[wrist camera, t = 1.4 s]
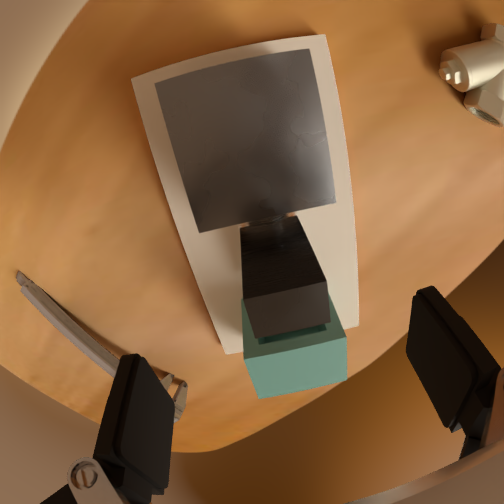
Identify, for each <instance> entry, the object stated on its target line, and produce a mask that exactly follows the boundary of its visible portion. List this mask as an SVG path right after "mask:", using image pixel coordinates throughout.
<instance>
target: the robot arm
mask: <svg viewBox="0 0 504 504" xmlns="http://www.w3.org/2000/svg"><path fill="white" fill-rule="evenodd" d="M406 353H407V357H408V359H409V360H410V362H411V364H412V366H413V368H414V370H415V371H416V373H417V375H418V377H419V379H420V381H421V382H422V384H423V386H424V388H425V390H426V392H427V394H428V396H429V398H430V400H431V402H432V403H433V405H434V407H435V409H436V411H437V413H438V415H439V417H440V419H441V421H442V423H443V425H444V426H445V427H446V428H448V427H449V429H450V431H451V433H453V432H455V431H457V430H459V429H461V428H462V429H463V431H464V433H465V435H466V436H465V440H464V443H463V447H462V450H461V453H460V457H459V460H458V461H456V462H454V463H452V464H450V465H448V466H446V467H444V468H442V469H439V470H437V471H435V472H432V473H430V474H428V475H426V476H423V477H421V478H419V479H416V480H414V481H411V482H409V483H406V484H404V485H401V486H398V487H396V488H393V489H390V490H387V491H384V492H381V493H378V494H375V495H372V496H369V497H366V498H362V499H359V500H356V501H352V502H348V503H345V504H504V368H502V369H501V367H500V366H499V365H498V363H497V362H496V361H495V359H494V358H493V356H492V355H491V354H490V353H489V351H488V350H487V348H486V347H485V346H484V344H483V343H482V342H481V340H480V339H479V338H478V337H477V335H476V334H475V333H474V331H473V330H472V329H471V328H470V326H469V325H468V324H467V323H466V321H465V320H464V319H463V318H462V317H461V316H459V315H458V314H457V313H456V311H455V310H454V309H453V308H452V307H451V305H450V304H449V303H448V302H447V301H446V299H445V298H444V297H443V296H442V295H441V294H440V292H439V291H438V290H437V289H436V288H435V287H434V286H429V287H426V288H423V289H420V290H417V292H416V295H415V296H413V299H412V308H411V317H410V324H409V331H408V338H407V345H406ZM174 415H175V404H174V401H173V399H172V398H171V396H170V395H169V394H168V392H167V391H166V389H165V388H164V386H163V385H162V383H161V382H160V380H159V379H158V377H157V376H156V374H155V373H154V371H153V370H152V368H151V367H150V365H149V364H148V362H147V360H146V359H145V358H144V357H141V356H140V355H139V354H129V355H123V356H121V358H120V361H119V365H118V368H117V371H116V374H115V378H114V381H113V384H112V388H111V391H110V395H109V397H108V400H107V403H106V407H105V410H104V414H103V418H102V422H101V425H100V429H99V433H98V437H97V442H96V445H95V450H94V454H93V458H89V457H84V458H80V459H78V460H76V461H75V462H74V463H73V464H72V465H71V466H70V468H69V470H68V473H67V481H68V484H67V485H65V486H64V487H62V488H61V489H60V490H58V491H57V492H55V493H54V494H53V495H51V496H50V497H48V498H47V499H46V500H44V501H43V502H41V503H40V504H152V503H151V496H152V494H153V495H164V488H167V487H168V482H169V469H170V456H171V445H172V435H173V425H174Z"/></svg>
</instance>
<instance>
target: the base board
mask: <svg viewBox="0 0 504 504" xmlns="http://www.w3.org/2000/svg"><path fill="white" fill-rule="evenodd" d="M308 48H309V49H310V53H311V57H312V62H313V66H314V71H315V76H316V80H317V85H318V90H319V95H320V100H321V105H322V111H323V116H324V122H325V127H326V133H327V139H328V145H329V152H330V158H331V165H332V172H333V179H334V187H335V195H336V203H333V204H328V205H324V206H319V207H314V208H309V209H305V210H300V211H297V213H298V219H299V221H300V223H301V225H302V227H303V229H304V231H305V233H306V236H307V238H308V240H309V242H310V244H311V246H312V249H313V251H314V253H315V255H316V257H317V260H318V262H319V264H320V266H321V269H322V271H323V273H324V275H325V278H326V280H327V286H328V293H329V295H330V297H331V300H332V302H333V305H334V307H335V310H336V312H337V315H338V317H339V319H340V322H341V324H342V327H343V329H348V328H352V327H356V326H359V293H358V265H357V246H356V231H355V218H354V207H353V196H352V187H351V178H350V169H349V161H348V154H347V146H346V139H345V133H344V126H343V120H342V114H341V108H340V102H339V97H338V91H337V86H336V81H335V76H334V71H333V66H332V62H331V57H330V53H329V48H328V44H327V40H326V36H325V34H323V35H312V36H302V37H294V38H287V39H280V40H273V41H267V42H261V43H256V44H250V45H245V46H240V47H236V48H231V49H227V50H222V51H218V52H214V53H210V54H206V55H202V56H199V57H195V58H191V59H188V60H184V61H181V62H178V63H174V64H171V65H168V66H165V67H162V68H159V69H156V70H153V71H150V72H147V73H145V74H142V75H139V76H136V77H134V78H131V82H132V85H133V89H134V93H135V96H136V100H137V104H138V107H139V111H140V114H141V118H142V121H143V125H144V128H145V131H146V135H147V138H148V141H149V145H150V148H151V151H152V154H153V158H154V161H155V164H156V167H157V170H158V173H159V176H160V180H161V183H162V186H163V189H164V192H165V195H166V198H167V201H168V204H169V207H170V210H171V212H172V215H173V218H174V221H175V224H176V227H177V230H178V232H179V235H180V238H181V241H182V244H183V246H184V249H185V252H186V255H187V257H188V260H189V263H190V265H191V268H192V271H193V273H194V276H195V279H196V281H197V284H198V287H199V289H200V292H201V294H202V297H203V299H204V302H205V304H206V307H207V309H208V312H209V314H210V317H211V319H212V322H213V324H214V327H215V329H216V332H217V334H218V337H219V339H220V341H221V344H222V346H223V348H224V351H225V353H226V355H227V354H233V353H238V352H243V332H242V308H241V299H242V298H243V289H242V267H241V244H240V232H239V228H238V225H233V226H228V227H224V228H220V229H215V230H211V231H207V232H203V233H199V232H198V228H197V225H196V222H195V219H194V216H193V213H192V210H191V207H190V204H189V200H188V197H187V194H186V191H185V188H184V185H183V181H182V178H181V175H180V171H179V168H178V165H177V162H176V158H175V155H174V152H173V148H172V145H171V141H170V138H169V134H168V131H167V128H166V124H165V120H164V117H163V113H162V110H161V106H160V103H159V99H158V95H157V92H156V88H155V84H154V83H157V82H160V81H163V80H166V79H169V78H172V77H175V76H179V75H182V74H185V73H189V72H192V71H196V70H200V69H203V68H207V67H211V66H215V65H219V64H223V63H227V62H232V61H236V60H241V59H246V58H251V57H256V56H261V55H267V54H273V53H279V52H285V51H292V50H300V49H308Z"/></svg>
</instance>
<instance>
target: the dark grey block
mask: <svg viewBox="0 0 504 504" xmlns="http://www.w3.org/2000/svg"><path fill="white" fill-rule="evenodd" d="M154 84H155V88H156V92H157V95H158V99H159V103H160V106H161V110H162V113H163V117H164V120H165V124H166V128H167V131H168V134H169V138H170V141H171V145H172V148H173V152H174V155H175V158H176V162H177V165H178V168H179V171H180V175H181V178H182V181H183V185H184V188H185V191H186V194H187V197H188V200H189V204H190V207H191V210H192V213H193V216H194V219H195V222H196V225H197V228H198V232H199V233H203V232H207V231H211V230H215V229H220V228H224V227H228V226H233V225H237V224H241V223H246V222H250V221H255V220H259V219H263V218H268V217H272V216H277V215H282V214H286V213H291V212H295V211H300V210H305V209H309V208H314V207H319V206H324V205H328V204H333V203H336V195H335V187H334V179H333V172H332V165H331V158H330V152H329V145H328V139H327V133H326V127H325V122H324V116H323V111H322V105H321V100H320V95H319V90H318V85H317V80H316V76H315V71H314V66H313V62H312V57H311V53H310V49H309V48H308V49H300V50H292V51H285V52H279V53H273V54H267V55H261V56H256V57H251V58H246V59H241V60H236V61H232V62H227V63H223V64H219V65H215V66H211V67H207V68H203V69H200V70H196V71H192V72H189V73H185V74H182V75H179V76H175V77H172V78H169V79H166V80H163V81H160V82H157V83H154Z"/></svg>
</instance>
